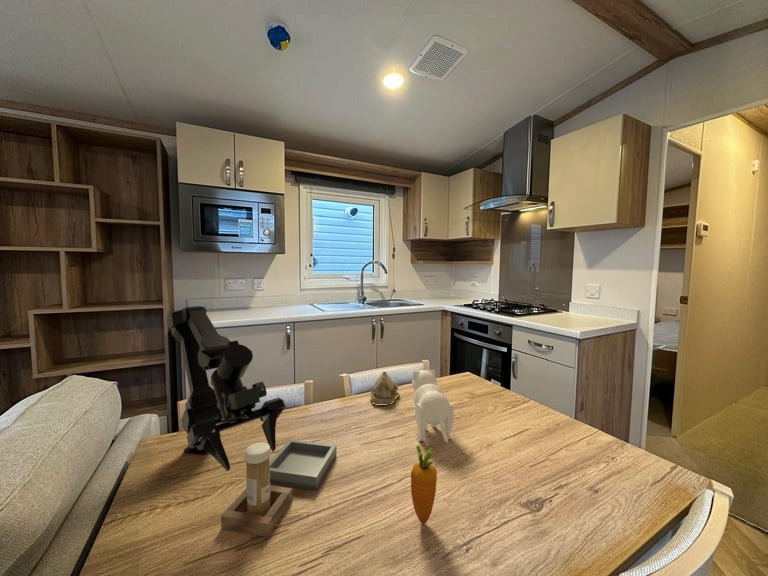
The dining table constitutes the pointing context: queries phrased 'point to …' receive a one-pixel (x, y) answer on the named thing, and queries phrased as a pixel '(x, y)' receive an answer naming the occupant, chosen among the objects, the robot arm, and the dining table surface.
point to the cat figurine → (431, 404)
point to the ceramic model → (384, 390)
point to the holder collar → (255, 523)
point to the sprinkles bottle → (258, 478)
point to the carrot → (423, 486)
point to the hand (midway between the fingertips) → (252, 459)
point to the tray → (302, 464)
